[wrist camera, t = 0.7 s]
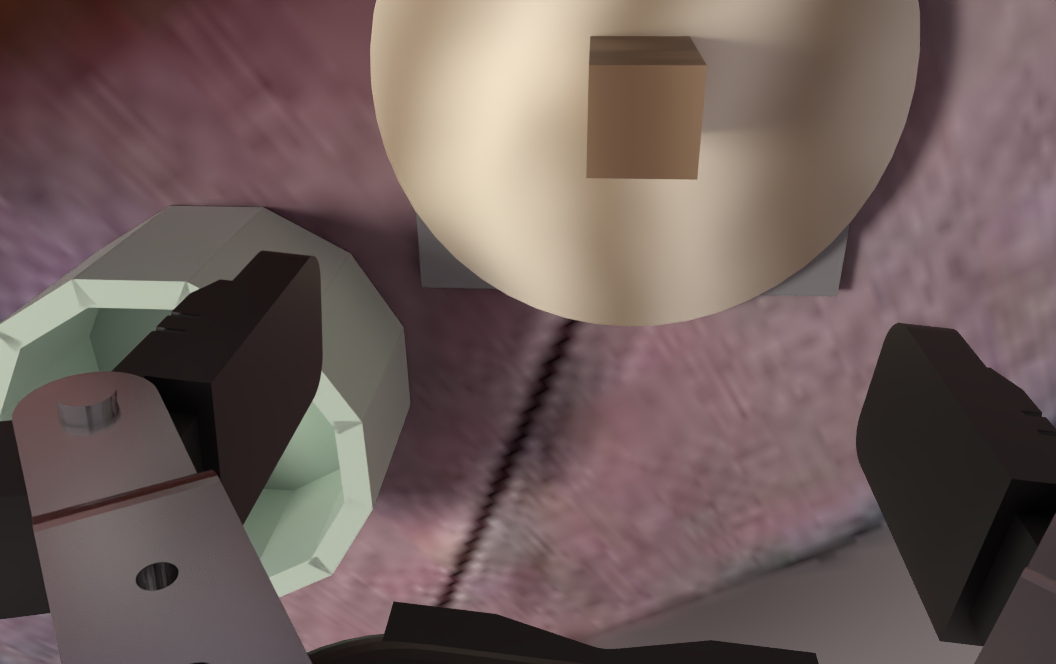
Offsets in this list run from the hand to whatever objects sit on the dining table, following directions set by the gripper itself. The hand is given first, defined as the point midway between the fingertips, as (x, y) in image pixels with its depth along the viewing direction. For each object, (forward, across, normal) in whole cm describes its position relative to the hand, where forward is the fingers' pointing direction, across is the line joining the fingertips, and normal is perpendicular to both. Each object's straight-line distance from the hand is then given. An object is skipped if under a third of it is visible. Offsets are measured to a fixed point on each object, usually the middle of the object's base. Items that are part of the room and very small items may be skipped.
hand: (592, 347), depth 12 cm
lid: (+20, -1, 0) cm, 20 cm away
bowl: (+20, +13, +14) cm, 28 cm away
